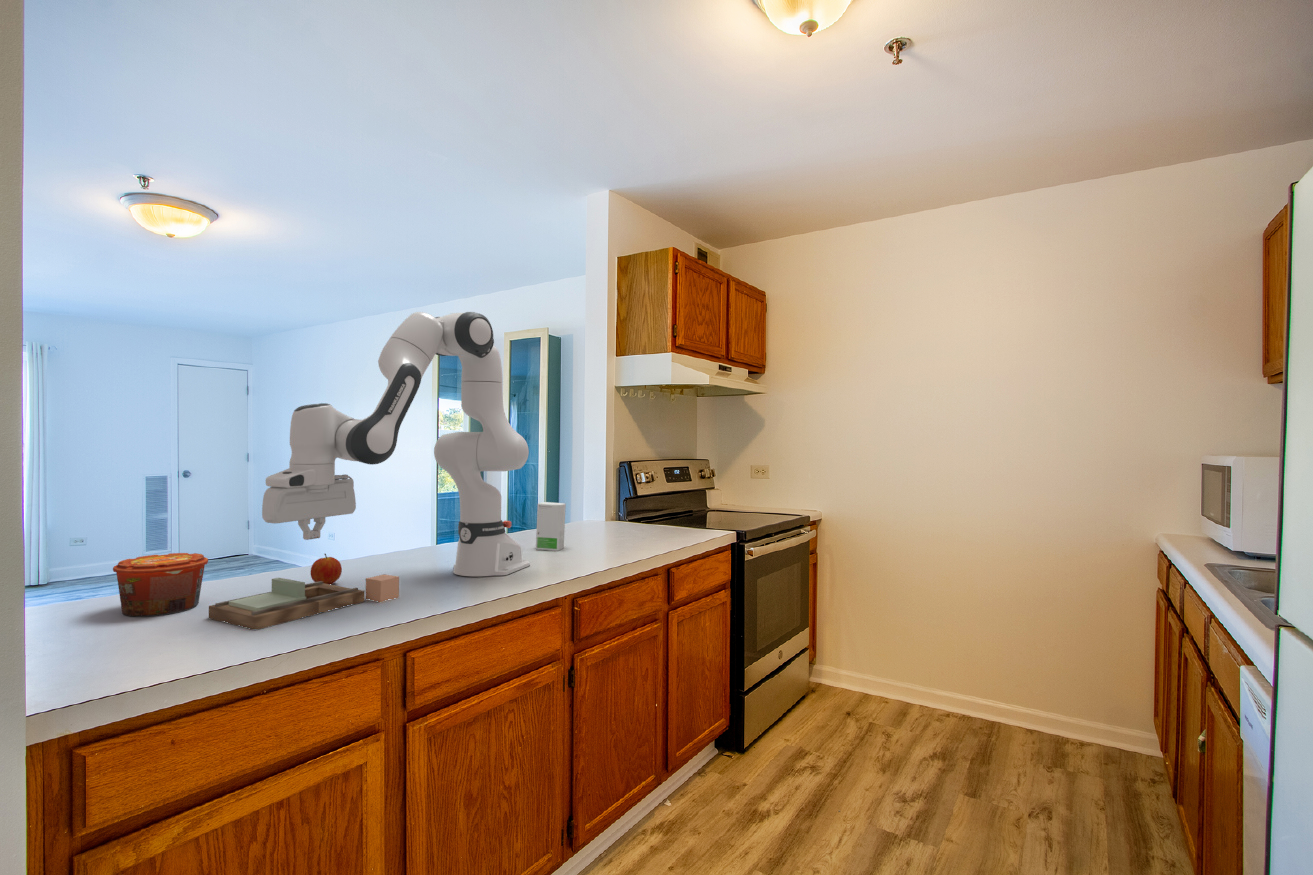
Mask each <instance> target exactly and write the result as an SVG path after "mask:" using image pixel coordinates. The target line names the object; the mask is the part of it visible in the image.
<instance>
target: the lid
mask: <svg viewBox="0 0 1313 875" xmlns="http://www.w3.org/2000/svg"><path fill="white" fill-rule="evenodd" d="M305 584H306V581H305V582H304V581H300V580H294V579H289V578H285V577H284V578H283V577H275V578H271V591H269V592H270V593H267V592H265V593H266V594H262V593H260V594H261V595H258V594H255V595H256V596H253V595H251V596H252V597H248V596H246V597H247V598H243V597H241V598H242V599H239V598H236V599H237V600H234V599H232V600H233V601H229V600H228V601H229V605H230V606H234V607H238V608H243V609H247V610H251V611H258V610H262V609H266V608H270V607H275V606H279V605H283V604H288V603H292V602H296V601H300V600H305V599H306V597H305Z"/></svg>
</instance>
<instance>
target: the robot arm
mask: <svg viewBox="0 0 1313 875" xmlns="http://www.w3.org/2000/svg"><path fill="white" fill-rule="evenodd" d="M494 339H495V338H494V330H493V327H492V323H491V322H490V321H489V318H488V317H486V316H485V315H484V314H481V313H478V312H475V311H466V312H452V313H450V314H446V315H442V316H433V315H432V314H430V313H427V312H423V311H416V312H413V313H411V314H410V315H409V316H407V318H406V319H404V321H402V322H401V324H400V325H399V326H397V328H396V329H395V330H394V332H393V333H392V334H391V335H390V337H389V339H388V340H387V341H386V343H385V345H384V346H383V348H382V350H381V352H380V354H379V357H378V361H377V362H378V367H379V370H380V372H381V374H382V375H383V377H384V378H386V379H387V387H386V389H385V390H384V392H383V394H382V396H381V398H380V399H379V401H378V403H377V405H376V407H375V409H374V411H373V412H372V413H371V414H370V415H369V416H366V417H365V418H363V419H359V418H358V419H356V418H354V417H351V416H349V415H346V414H345V413H342V412H341V411H339V410H337V409H336V408H335V407H334V406H333V405H331V404H330V403H326V402H325V403H322V402H321V403H313V404H311V403H310V404H305V405H304V404H303V405H300V406H297V407H296V408H295V409H294V410H293V412H292V415H291V420H290V426H289V428H290V429H289V445H290V446H289V447H290V449H291V450H290V451H291V456H290V460H289V468H286V469H284V470H282V471H279V472H276V473H273V474H271V475H268V476H266V478H265V485H266V486H267V488H266V490H265V492H264V493H263V496H262V508H261V516H262V519H263V520H264V522H265V523H267V524H282V523H291V522H297V525H298V527H299V529H300V530H301V531H302V539H303V540H305V541H309V540H315V539H320V538H321V530H322V529H323V527H324V526H325V524H326V518H328V517H336V516H337V517H338V516H343V515H353V513H354V512H355V510H356V509H357V501H356V493H355V487H354V486H355V485H354V479H353V478H352V476H349V475H348V474H344V473H343V474H336V473H335V470H336V466H335V465H336V463H335V462H336V459H337V458H338V459H340V460H345V461H350V462H359V463H362V464H365V465H366V464H367V465H378V464H382V463H384V462H385V461H387V460H388V459H389V458H390V457H391V456H392V455H393V453H394V451H395V450H396V447H397V443H398V436H399V433H400V428H401V426H402V423H403V421H404V420H405V417H406V415H407V414H408V411H409V409H410V407H411V406H412V404H413V401H414V399H415V397H416V394H417V393H418V390H419V388H420V385H421V383H422V378H423V376H424V374H425V372H426V371H427V369H428V368H429V366H430V364H431V363H432V361H433V359H434V358H435V355H437V356H440V357H446V356H447V357H448V356H451V357H455V356H456V357H458V358H459V359H458V360H459V361H460V363H461V382H460V383H461V386H460V388H461V389H460V390H461V394H460V397H461V399H460V400H461V401H460V402H461V404H460V405H461V410H462V411H463V413H464V414H465V415H466V416H468V417H470V418H472V419H473V420H476V421H477V422H479V423H480V424H481V426H482V431H474V432H473V431H456V432H451V433H446V434H442V435H440V436H439V437H438V439H437V441H436V442H435V445H434V448H433V456H434V459H435V462H436V463H437V464H438V466H439V467H440V468H442V470H444V471H445V472H446V473H448V474H449V476H450V477H451V478H452V480H453V481H454V483H455V486H456V488H457V491H458V495H459V511H460V512H459V515H460V516H459V518H460V520H459V521H458V526H457V530H458V531H457V534H458V536H459V539H458V542H457V547H456V548H457V549H456V555H455V563H454V564H453V571H452V573H453V574H454V575H457V576H462V577H489V576H490V577H491V576H508V575H509V574H510V575H511V574H512V573H515V572H517V571H520V570H523V569H525V568H527V567H529V566H531V562H530V561H529V560H525V559H523V558H522V555H523V554H522V548H521V545H520V544H519V543H518V542H516V540H514V539H513V538H512V537H511V536H509V534H507V533H506V528H507V529H510V528H511V527H512V526H513V524H512V521H510V520H504V521H503V519H502V494H501V492H500V491H499V489H498V488H496V487H495V486H493V485H492V484H490V483H488V482H486V481H485V480H483V477H482V475H481V472H508V471H509V472H510V471H515V470H520V469H522V468H523V467H524V466H525V464H526V463H527V460H528V458H529V455H530V454H529V446H528V443H527V440H525V438H524V437H523V436H522V435H521V434H519V433H518V431H516V430H515V429H514V428H513V426H512V425H511V424H510V423H509V421H508V419H507V417H506V412H505V409H504V397H503V394H504V393H503V367H502V361H501V356H500V355H501V354H500V351H499V349H498V348H497V347H496V346H495V345H494V344H495V340H494ZM311 520H313V522H314V526H313V528H312V529H310V526H309V525H311Z"/></svg>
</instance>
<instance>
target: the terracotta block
mask: <svg viewBox="0 0 1313 875" xmlns="http://www.w3.org/2000/svg"><path fill="white" fill-rule="evenodd" d="M398 597H399V598H400V576H397V575H390V574H379V575H375V576H370V577H367V578H365V600H366V599H370V600H374V601H373V602H375V601H378V602H377V603H380V602H381V603H384V602H383V601H385V600H388V599H392V600H395V599H394V598H396V599H399V598H398ZM385 602H386V601H385Z"/></svg>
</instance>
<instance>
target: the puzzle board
mask: <svg viewBox="0 0 1313 875" xmlns="http://www.w3.org/2000/svg"><path fill="white" fill-rule="evenodd" d="M270 592H271V591H269V592H263V593H259V594H253V595H249V596H245V597H240V598H235V599H229V600H224V601H221V602H215V603H214V604H212V605H208V619H209V618H210V619H209V620H213V621H218V622H221V621H225V622H228V623H227V624H229V623H230V624H229V625H233V624H234V625H233V626H237V625H240V626H243V627H242V628H244V627H247V628H246V629H248V628H250V629H249V630H252V629H258V630H261V628H262V629H265V627H266V628H269V627H268V626H270V627H273V626H272V625H274V626H277V625H280V624H284V623H288V621H289V622H292V621H297V620H299V619H300V618H301V619H303V618H302V617H304V618H306V617H305V616H308V617H311V615H312V616H315V615H314V614H316V615H318V614H317V613H320V612H324V613H327V612H329V611H328V610H331V611H333V610H332V609H335V608H339V609H342V608H341V607H343V606H347V605H351V604H354V605H358V604H361V602H362V603H365V590H363V589H362V590H361V589H359V587H352V588H351V587H346V586H340V585H334V584H331V585H330V584H325V583H323V581H319V582H314V581H313V582H310V583H305V597H306V599H305V600H300V601H296V602H292V603H288V604H283V605H279V606H275V607H270V608H266V609H262V610H258V611H251V610H247V609H243V608H238V607H234V606H230V605H229V601H233V600H237V599H242V598H247V597H252V596H256V595H261V594H266V593H270ZM351 606H352V605H351ZM347 607H348V606H347ZM343 608H344V607H343ZM335 610H336V609H335ZM326 611H327V612H326ZM320 614H321V613H320ZM296 619H297V620H296ZM301 619H300V620H301ZM225 622H224V623H225ZM240 626H239V627H240Z"/></svg>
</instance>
